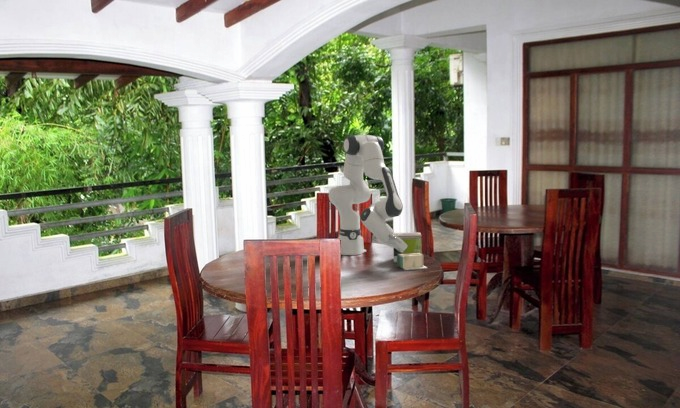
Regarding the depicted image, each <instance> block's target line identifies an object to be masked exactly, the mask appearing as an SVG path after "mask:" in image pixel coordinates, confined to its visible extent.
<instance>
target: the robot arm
mask: <svg viewBox="0 0 680 408" xmlns="http://www.w3.org/2000/svg"><path fill="white" fill-rule="evenodd" d="M384 148H385V142H384V140H383V138H382V137H381V136H379V135H370V134H359V135H354V134H353V135H348V136H346V137H345V138H344V140H343V151H344V152H345V159H344V163H343V164H344V165H343V171H342V173H343V176H344V177H345V178H346V179H347V180H349V184H346V185H344V184H343V185H337V186H335V187H331V188H330V189H329V192H328V200H329V202H330V203H331V204H332V205H334V207H335V208H336V210H337V211H338V214H339V221H340V224H339V225H340V229H339V234H338V237H337V239H338V238H339V239H340V240H341V254H340V255H343V256H356V255H362V254H363V253H366V252H367V249H365V245H364V237H363V236H362V234H361V233H362V229H361V223H362V224H363V226H364V227H365V228H366V229H367V230H368V231H369V232H371V233H372V234H373V235H372V237H373V238H375V239H377V240H378V241H379V242H380V243H382V244H383V245H385V246H388V247H390V248H393V249H394V248H395V249H397V250H398V251H399V252H403V251H404V250H405V249H406V248H407V244H406V243H405V242H404V241H403V240H401V239H400V238H399V237H397V236H394V233H395V231H394V229H393V228H392V227H391V226H390V225H389V224H388V223H387V222H386V220H388V219H391V218H395V217H399V216H400V215H401V214H402V212H403V208H404V206H403V202H402V200H401V198H400V196H399V193H398V189H397V186H396V182H395V180H394V176H393V173H392V171H391V169H390V168H389V167H387V166H386V164H385V160H384V155H383V151H384ZM364 175H365V176H367V177H368V178H369V179H373V180H378V181H379V180H380V181H381V182H382V184H383V187H384V190H385V194H386V198H385V199H382V200H379V201H376V202H373V203H371V204H370V206H369V207H367V208H364V209H363V210H362V211H361V213H360V214H359V213H358V212H357V211H356V210H354V209H353V207H352V205H359V204H363V203H366V202H369V200H370V199H371V195H372V193H371V189H370V187H369V186H368V185H367V184H366V183H365V180H364Z"/></svg>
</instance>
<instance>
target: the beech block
mask: <svg viewBox="0 0 680 408" xmlns="http://www.w3.org/2000/svg"><path fill="white" fill-rule="evenodd" d="M424 258H425V257H424V254H423V253H422V254H421V253H408V254H397V262H396V265H397V267H399V268H400V269H403V268H412V267H423V265H424V261H425V260H424Z"/></svg>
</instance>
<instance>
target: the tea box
mask: <svg viewBox="0 0 680 408" xmlns="http://www.w3.org/2000/svg"><path fill="white" fill-rule="evenodd" d="M393 234H394V236H397V237H399V238H400V239H401V240H403V241H404V242H405V243H406V244H407V248H406V249H405V250H404V251H403V252H399V251H398V250H397V249H395V248H393V263H397V254H408V253H421V254H422V255H423V244H422V243H423V242H422V241H423V239H422V233H421V232H417V231H416V232H394V233H393Z"/></svg>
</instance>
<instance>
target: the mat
mask: <svg viewBox="0 0 680 408" xmlns="http://www.w3.org/2000/svg"><path fill="white" fill-rule="evenodd" d="M402 269H403V270H404V271H410V270H423V269H428V266H426V265H424V264H423V267H412V268H402Z"/></svg>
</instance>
